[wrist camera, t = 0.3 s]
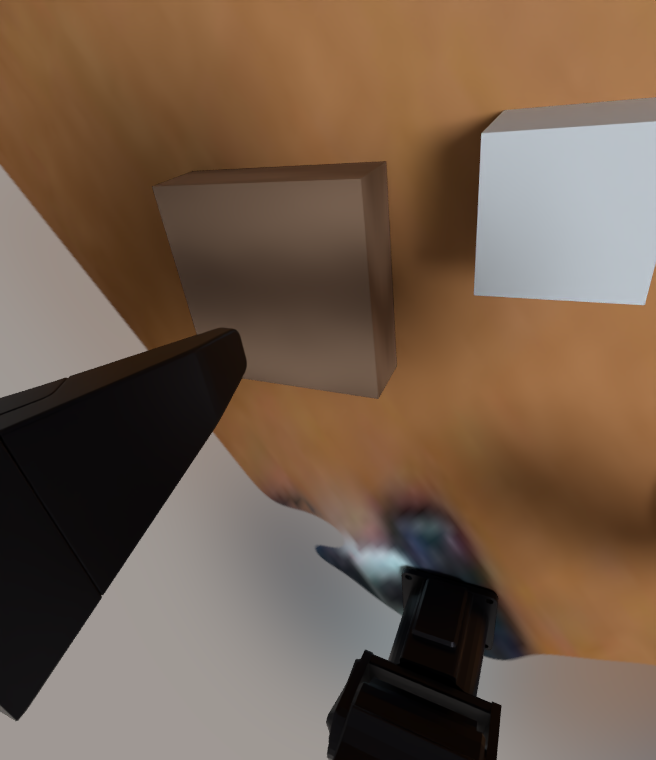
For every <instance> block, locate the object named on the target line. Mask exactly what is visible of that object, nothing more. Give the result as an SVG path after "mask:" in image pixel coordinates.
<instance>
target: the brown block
mask: <svg viewBox="0 0 656 760" xmlns="http://www.w3.org/2000/svg"><path fill="white" fill-rule="evenodd" d="M152 188H153V191H154V195H155V198H156V201H157V205H158V208H159V211H160V214H161V218H162V221H163V224H164V228H165V231H166V234H167V238H168V241H169V244H170V247H171V251H172V254H173V257H174V261H175V264H176V267H177V271H178V274H179V277H180V280H181V284H182V287H183V290H184V294H185V297H186V300H187V303H188V307H189V310H190V313H191V317H192V320H193V323H194V327H195V330H196V333H197V335H198V334H201V333H204V332H207V331H210V330H213V329H216V328H220V327H223V328H233V329H236V330H237V331H238V332H239V334H240V336H241V340H242V344H243V348H244V352H245V355H246V359H247V368H246V371H245V374H244V375H243V377H242V378H244V379H250V380H257V381H264V382H270V383H277V384H283V385H290V386H297V387H303V388H310V389H316V390H323V391H330V392H336V393H343V394H349V395H356V396H363V397H369V398H376V399H379V397H380V395H381V393H382V392H383V390H384V388H385V386H386V384H387V383H388V381H389V379H390V377H391V376H392V374H393V372H394V370H395V368H396V367H397V360H396V341H395V321H394V302H393V283H392V263H391V244H390V225H389V206H388V186H387V167H386V161H383V162H363V163H344V164H324V165H304V166H284V167H265V168H245V169H225V170H206V171H192V172H189V173H186V174H184V175H181V176H178V177H176V178H173V179H170V180H168V181H165V182H163V183H160V184H157V185H155V186H152Z"/></svg>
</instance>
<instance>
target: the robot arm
mask: <svg viewBox="0 0 656 760" xmlns="http://www.w3.org/2000/svg"><path fill="white" fill-rule="evenodd" d="M246 368H247V359H246V355H245V352H244V348H243V344H242V340H241V336H240V334H239V332H238V331H237V330H236V329H233V328H223V327H220V328H216V329H213V330H210V331H207V332H204V333H201V334H198V335H195V336H192V337H189V338H186V339H182V340H179V341H176V342H173V343H170V344H167V345H164V346H161V347H158V348H155V349H152V350H149V351H146V352H143V353H140V354H137V355H134V356H130V357H127V358H124V359H121V360H118V361H115V362H112V363H109V364H106V365H103V366H100V367H97V368H94V369H91V370H88V371H84V372H82V373H78V374H75V375H72V376H70V377H69V378H63V379H60V380H57V381H54V382H51V383H47V384H44V385H42V386H38V387H35V388H32V389H28V390H25V391H22V392H19V393H15V394H12V395H9V396H5V397H2V398H0V711H1V712H2V713H4V714H5V715H7V716H8V717H10V718H12V719H14V720H15V721H18V720H19V719H20V717H21V716H22V715H23V714H24V713H25V711H26V710H27V709H28V707H29V706H30V704H31V703H32V701H33V700H34V699H35V697H36V695H37V694H38V692H39V691H40V690H41V688H42V687H43V685H44V683H45V682H46V681H47V679H48V678H49V676H50V674H51V673H52V672H53V670H54V669H55V667H56V666H57V664H58V663H59V661H60V660H61V658H62V657H63V655H64V653H65V652H66V651H67V649H68V648H69V646H70V645H71V643H72V642H73V640H74V639H75V637H76V636H77V634H78V633H79V631H80V630H81V628H82V627H83V625H84V624H85V622H86V621H87V619H88V618H89V616H90V615H91V613H92V612H93V610H94V608H95V607H96V606H97V604H98V603H99V601H100V600H101V598H102V596H101V595H103V594H104V593H105V592H106V590H107V589H108V587H109V585H110V584H111V583H112V581H113V579H114V578H115V577H116V575H117V573H118V572H119V571H120V569H121V568H122V566H123V565H124V563H125V562H126V560H127V558H128V557H129V556H130V554H131V553H132V551H133V550H134V548H135V547H136V545H137V544H138V542H139V540H140V539H141V538H142V536H143V535H144V533H145V532H146V530H147V529H148V527H149V526H150V524H151V523H152V521H153V520H154V518H155V517H156V515H157V514H158V512H159V511H160V509H161V508H162V506H163V505H164V503H165V502H166V501H167V499H168V498H169V496H170V495H171V493H172V492H173V490H174V489H175V487H176V486H177V484H178V483H179V481H180V480H181V478H182V477H183V475H184V474H185V472H186V471H187V469H188V468H189V466H190V464H191V463H192V462H193V460H194V458H195V457H196V456H197V454H198V453H199V451H200V450H201V448H202V447H203V445H204V444H205V442H206V441H207V439H208V437H209V436H210V435H211V433H212V432H213V430H214V429H215V427H216V425H217V424H218V422H219V420H220V419H221V417H222V415H223V413H224V411H225V410H226V408H227V406H228V404H229V402H230V400H231V398H232V396H233V394H234V392H235V391H236V389H237V387H238V385H239V383H240V381H241V379H242V377H243V375H244V374H245V371H246ZM402 590H403V606H404V612H403V615H402V618H401V622H400V625H399V628H398V631H397V634H396V638H395V640H394V644H393V647H392V650H391V653H390V656H389V659H388V660H385V659H383V658H381V657H378V656H376V655H373V653H372V652H370V651H368V650H365V651H364V653H363V655H362V658H361V659H356V660H355V663H354V665H353V668H352V671H351V674H350V676H349V679H348V681H347V683H346V685H345V687H344V689H343V691H342V692H341V694H340V696H339V697H338V699H337V701H336V702H335V704H334V706H333V708H332V709H331V711H330V712H329V714H328V717H327V721H326V723H327V727H328V730H329V733H330V735H329V746H328V752H327V757H328V759H329V760H497V747H498V737H499V727H500V716H501V705H499V704H497V703H494V702H492V703H490V702H488V701H485V700H483V699H480V698H478V697H476V696H477V690H478V685H479V679H480V673H481V667H482V661H483V655H484V649H485V650H491V649H492V646H493V639H494V630H495V622H496V614H497V605H498V596H497V595H496V594H495V593H493V592H490V591H487V590H483V589H480V588H476V587H473V586H469V585H466V584H462V583H459V582H455V581H452V580H449V579H445V578H442V577H438V576H435V575H431V574H428V573H424V572H421V571H417V570H414V569H410V568H405V569H404V570H403V572H402Z"/></svg>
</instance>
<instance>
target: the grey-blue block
mask: <svg viewBox="0 0 656 760" xmlns="http://www.w3.org/2000/svg"><path fill="white" fill-rule="evenodd" d="M655 263H656V97H654V98H642V99H630V100H619V101H607V102H595V103H583V104H571V105H560V106H548V107H536V108H524V109H512V110H504V111H503V112H502V113H501V114H500V115H499V116H498V117H497V118H496V119H495V120H494V121H493V122H492V123H491V124H490V125H489V126H488V127H487V128H486V129H485V130H484V131H483V132H482V133H481V154H480V175H479V196H478V218H477V239H476V260H475V282H474V295H478V296H496V297H513V298H530V299H548V300H565V301H582V302H599V303H617V304H634V305H645V302H646V298H647V294H648V290H649V286H650V282H651V278H652V274H653V270H654V266H655Z"/></svg>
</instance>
